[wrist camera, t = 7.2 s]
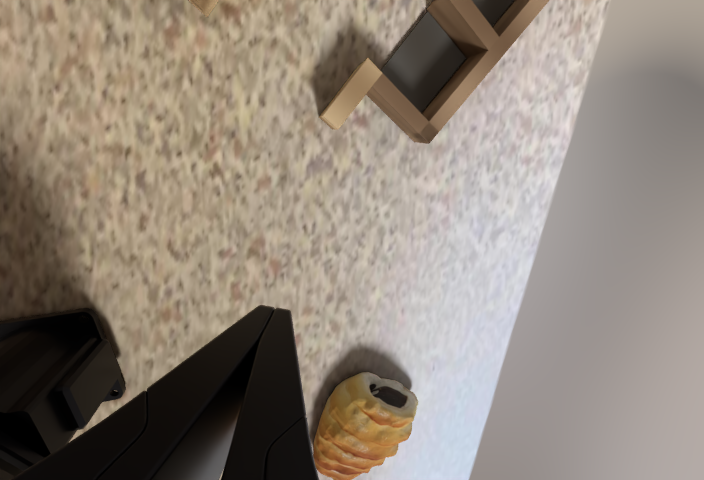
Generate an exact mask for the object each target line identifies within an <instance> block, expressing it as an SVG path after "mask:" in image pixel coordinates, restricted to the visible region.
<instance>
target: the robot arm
mask: <svg viewBox="0 0 704 480" xmlns="http://www.w3.org/2000/svg"><path fill="white" fill-rule="evenodd" d="M83 316H86V317H88V319H85V318H83ZM114 390H117V391H118V392H116V391H114ZM125 390H126V387H125V384H124V382H123V379H122V377H121V370H120V368H119V365H118V362H117V360H116V357H115V355H114V352H113V350H112V347H111V345H110V342H109V341H108V340H107V339H106V336H105V334H104V331H103V329H102V326H101V324H100V321H99V319H98V316H97V314H96V312H95V311H93V310H92V309H89V308H84V309H77V310H70V311H64V312H57V313H51V314H44V315H37V316H31V317H24V318H18V319H11V320H4V321H0V480H219V478H220V476H221V473H222V471H223V469H224V471H223V475H222V478H221V480H319V478H318V474H317V470H316V466H315V462H314V458H313V452H312V447H311V442H310V436H309V430H308V423H307V418H306V411H305V404H304V397H303V390H302V383H301V377H300V370H299V363H298V356H297V349H296V342H295V336H294V329H293V322H292V315H291V311H290V310H288V309H282V308H276V309H275V308H274V307H270V306H264V305H260V306H258V307H256V308H255V309H254V310H252V311H251V312H249V313H248V314H247V315H245V316H244V317H243V318H241V319H240V320H239V321H237V322H236V323H235V324H233V325H232V326H231V327H229V328H228V329H227V330H225V331H224V332H223V333H221V334H220V335H218V336H217V337H216V338H214V339H213V340H212V341H210V342H209V343H208V344H206V345H205V346H204V347H202V348H201V349H200V350H198V351H197V352H196V353H194V354H193V355H192V356H190V357H189V358H187V359H186V360H185V361H183V362H182V363H181V364H179V365H178V366H177V367H175V368H174V369H173V370H171V371H170V372H169V373H167V374H166V375H165V376H163V377H162V378H161V379H159V380H158V381H156V382H155V383H154V384H152V385H151V386H150V387H148V388H147V391H143V392H141V393H140V394H139V395H137V396H136V397H135V398H133V399H132V400H131V401H129V402H128V403H127V404H125V405H124V406H122V407H121V408H119V409H118V410H117V411H115V412H114V413H112V414H111V415H110V416H108V417H107V418H105V419H104V420H103V421H101V422H100V423H98V424H97V425H95V426H94V427H92V428H91V429H89V430H87V431H86V432H84V433H83V434H81V435H80V436H78V437H77V438H75V439H74V440H72V441H71V442H69V441H70V440H71V438H72V437H73V435H74V434H75V432H76V431H77V430H80V429H83V428H84V427H85V426H86V425H87V424H88V422H89V421H90V419H91V418H92V416H93V415H94V413H95V412H96V410H97V409H98V407H99V406H100V404H101V403H102V402H105V401H110V400H115V399H119V398H121V397H122V395H123V394H124V392H125ZM224 466H225V467H224Z"/></svg>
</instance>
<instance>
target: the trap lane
mask: <svg viewBox="0 0 704 480" xmlns="http://www.w3.org/2000/svg"><path fill="white" fill-rule="evenodd" d="M188 1H189V2H191V3H192V4H193V5H194V6H195V7H196V8H197V9H198V10H200V11H201V12H202V13H203V14H204V15H205V16H206V17H208V15H209V14H210V13H211V11H212V10H213V8H214V7H215V5H216V4H217V2H218V1H219V0H188ZM548 1H549V0H514V2H513V0H433V2H432V3H431V4H430V6H429V7H428V8H427V9H426V10H427V11H428V12H426V14H425V15H424V16H423V18H422V19H421V20H420V21H419V23H418V24H417V25H416V26H415V28H414V29H413V30H412V32H411V33H410V34H409V35H408V37H407V38H406V39H405V40H404V42H403V43H402V44H401V46H400V47H399V48H398V49H397V51H396V52H395V53H394V54H393V56H392V57H391V58H390V60H389V61H388V62H387V63H386V65H385V66H384V67H383V68H382V70H381V71H380V70H379V69H378V68H377V67H376V66H375V65H374V64H373V63H372V61H371V60H370V59H369V58H367V59H366V60H365V61H364V62H362V63H361V64H360V65H359V66H358V67H357V68H356V70H355V71H354V72H353V74H352V75H351V76H350V77H349V79H348V80H347V81H346V83H345V84H344V85H343V87H342V88H341V89H340V90H339V92H338V93H337V94H336V96H335V97H334V98H333V99H332V101H331V102H330V103H329V105H328V106H327V107H326V109H325V110H324V111H323V112H322V114H321V115H320V116H319V118H320V119H321V120H323V121H324V122H325V123H326V124H327V125H328V126H329V127H330V128H332V129H339V128H340V126H341V125H342V124H343V123H344V121H345V120H346V119H347V117H348V116H349V115H350V114H351V112H352V111H353V110H354V109H355V107H356V106H357V105H358V104H359V102H360V101H361V100H362V98H363V97H364V96H365V95H367V96H368V97H369V98H370V99H371V100H372V101H373V102H374V103H375V104H376V105H377V106H378V107H379V108H380V109H381V110H382V111H383V112H384V113H385V114H386V115H387V116H388V117H390V118H391V119H392V120H393V121H394V122H395V123H396V124H397V125H398V126H399V127H400V128H401V129H402V130H403V131H404V132H405V133H406V134H407V135H408V136H409V137H410V138H411V139H412V140H413V141H414V142H419V143H428V144H429V143H430V142H431V141H432V140H433V138H434V137H435V136H436V135H437V134H438V132H439V131H440V130H441V129H442V128H443V126H444V125H445V124H446V123H447V122H448V120H449V119H450V118H451V117H452V116H453V115H454V113H455V112H456V111H457V110H458V109H459V107H460V106H461V105H462V104H463V103H464V101H465V100H466V99H467V98H468V97H469V95H470V94H471V93H472V92H473V91H474V89H475V88H476V87H477V86H478V85H479V84H480V82H481V81H482V80H483V79H484V78H485V76H486V75H487V74H488V73H489V72H490V70H491V69H492V68H493V67H494V66H495V64H496V63H497V62H498V61H499V60H500V58H501V57H502V56H503V55H504V54H505V53H506V51H507V50H508V49H509V48H510V47H511V45H512V44H513V43H514V42H515V41H516V39H517V38H518V37H519V36H520V35H521V33H522V32H523V31H524V30H525V29H526V27H527V26H528V25H529V24H530V23H531V22H532V20H533V19H534V18H535V17H536V16H537V14H538V13H539V12H540V11H541V10H542V8H543V7H544V6H545V5H546V4H547V2H548ZM512 2H513V3H512ZM511 3H512V4H511ZM510 4H511V5H510ZM509 5H510V6H509ZM508 6H509V8H508ZM507 8H508V9H507ZM506 9H507V10H506ZM505 10H506V11H505ZM504 11H505V13H504ZM503 13H504V14H503ZM502 14H503V15H502ZM501 15H502V16H501ZM500 16H501V17H500ZM499 17H500V19H499ZM498 19H499V20H498ZM435 20H436V21H435ZM497 20H498V21H497ZM496 21H497V22H496ZM495 22H496V23H495ZM494 24H495V25H494ZM493 25H494V26H493ZM492 26H493V27H492ZM466 58H467V59H466ZM465 59H466V60H465ZM464 60H465V61H464ZM463 61H464V62H463ZM462 62H463V64H462ZM461 64H462V65H461ZM460 65H461V66H460ZM459 66H460V67H459ZM458 67H459V68H458ZM457 69H458V70H457ZM456 70H457V71H456ZM455 71H456V72H455ZM454 72H455V73H454ZM453 73H454V75H453ZM452 75H453V76H452ZM451 76H452V77H451ZM450 77H451V78H450ZM449 78H450V79H449ZM448 79H449V81H448ZM447 81H448V82H447ZM446 82H447V83H446ZM445 83H446V84H445ZM444 84H445V85H444ZM443 86H444V87H443ZM442 87H443V88H442ZM441 88H442V89H441ZM440 89H441V90H440ZM439 90H440V92H439ZM438 92H439V93H438ZM437 93H438V94H437ZM436 94H437V95H436ZM435 95H436V96H435ZM434 96H435V98H434ZM433 98H434V99H433ZM432 99H433V100H432ZM431 100H432V101H431ZM430 101H431V102H430ZM429 103H430V104H429ZM428 104H429V105H428ZM427 105H428V106H427ZM426 106H427V107H426ZM425 107H426V109H425ZM424 109H425V110H424ZM423 110H424V111H423ZM422 111H423V112H422ZM421 112H422V113H421Z"/></svg>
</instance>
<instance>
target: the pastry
mask: <svg viewBox="0 0 704 480" xmlns="http://www.w3.org/2000/svg"><path fill="white" fill-rule="evenodd" d="M417 405H418V400H417V398H416V396H415V394H414V393H413V392H411V391H410V390H408V389H407V388H406V387H403V385H402V383H400V382H398V381H396V380H390V379H383V378H379V376H377V375H375V374H372V373H369V372H362V373H359V374H357V375H355V376H352V377H349V378H348V379H346V380H344V381H343V382H341V383H340V384H339V385H337V386H336V388H335V390H334V391H333V393H332V394H331V396H330V397H328V400H327V403H326V405H325V407H324V410H323V413H322V415H321V418H320V422H319V425H318V429H317V432H316V436H315V439H314V444H313V448H314V454H313V458H314V462H315V466H316V468H317V470H318V471H319V472H320V473H321V474H323V475H326V476H328V477H332V478H333V479H334V480H351V479H353V478H355V477H357V476H358V475H360V474H361V473H368V472H369V471H370V469H371V468H372V467H373V466H377V465H382V464H383V462H384V460H385V458H386V457H391V456H394V455H395V454H396V453H397V450H398V443H400V442H403V441H405V440H407V439H408V438H409V436H410V434H411V431H412V421H413V420H414V416H415V414H416V408H417Z"/></svg>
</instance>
